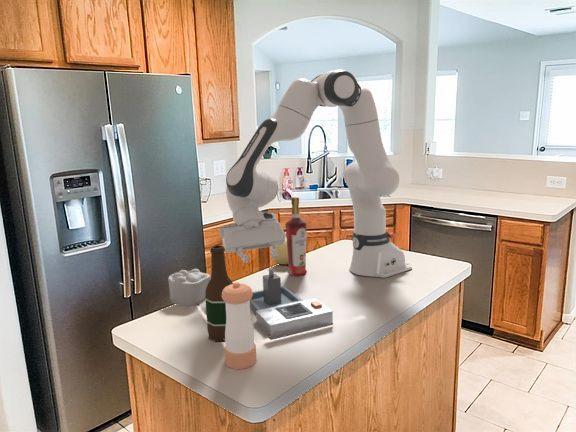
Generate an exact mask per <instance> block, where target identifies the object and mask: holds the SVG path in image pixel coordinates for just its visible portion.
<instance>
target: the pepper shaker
mask: <svg viewBox="0 0 576 432" xmlns="http://www.w3.org/2000/svg"><path fill="white" fill-rule="evenodd" d="M253 292H254V291H253V289H252V288H251V286H250V285H248V284H245V283H240V282H239V281H235V282H233V284H231V285H229V286H227V287H225V288H224V289H223V291H222V295H221V297H222V299H223V300H224V302H226V328H225V339H224V341H225V346H224V363H225V365H226V366H227V367H228V368H231V369H236V370H243V369H248V368H250V367H252V366H254V365H255V364H256V362H257V344H256V343H255V332H254V331H255V330H254V327H253V326H254V325H253V321H252V317H251V316H252V315H251V307H250V300H251V298H252V296H253Z"/></svg>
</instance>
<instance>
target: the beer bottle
mask: <svg viewBox="0 0 576 432" xmlns="http://www.w3.org/2000/svg"><path fill="white" fill-rule="evenodd" d="M209 252H210V253H211V254H210V257H211V260H210V261H211V262H210V263H211V268H210V269H211V275H210V281H209V283H208V285H207V288H206V291H205V299H204V300H205V311H206V324H207V325H206V326H207V334H208V339H210V340H211V341H213V342H215V343H226V341H225V328H226V302H224V300H223V299H222V297H221V295H222V291H223V289H224V288H225V287H227V286H229V285H231V284H233V283H234V282H233V281H232V279H231V278H230V277H229V274H228V271H227V265H226V257H225V248H224V246H223V245H220V244H219V245H213V246H211V247H210V250H209Z"/></svg>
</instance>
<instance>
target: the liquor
mask: <svg viewBox="0 0 576 432" xmlns="http://www.w3.org/2000/svg"><path fill="white" fill-rule="evenodd" d="M290 200H291V201H290V202H291V219H289V220H288V221H287V222H285V224H284V225H285V226H284V227H285V235H286V239H287V249H288V264H287V265H288V271H287V273H288V275H290V276H291V277H292V276H293V277H300V276H304V275H306V274H307V273H308V271H307V267H306V265H307V261H306V260H307V259H306V258H307V251H306V250H307V226H308V225H307V222H306V221H305V220H303V219H301V214H300V207H299V206H300V196H291V199H290Z"/></svg>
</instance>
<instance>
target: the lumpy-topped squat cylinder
mask: <svg viewBox="0 0 576 432" xmlns="http://www.w3.org/2000/svg"><path fill="white" fill-rule="evenodd" d="M210 279H211V275H210V274H209V273H205V272H201V271H200V270H199V269H198V268H193V269H191V270H186V269H181V270H179V271H178V272H174V273H171V274H170V275H169V276H168V291H169V300H170V302H171V303H172V304H175V305H179V306H186V307H196V306H200V304H199V303H200V302H202V301H203V300H205V291H206V288H207V285H208V283H209V281H210Z"/></svg>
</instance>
